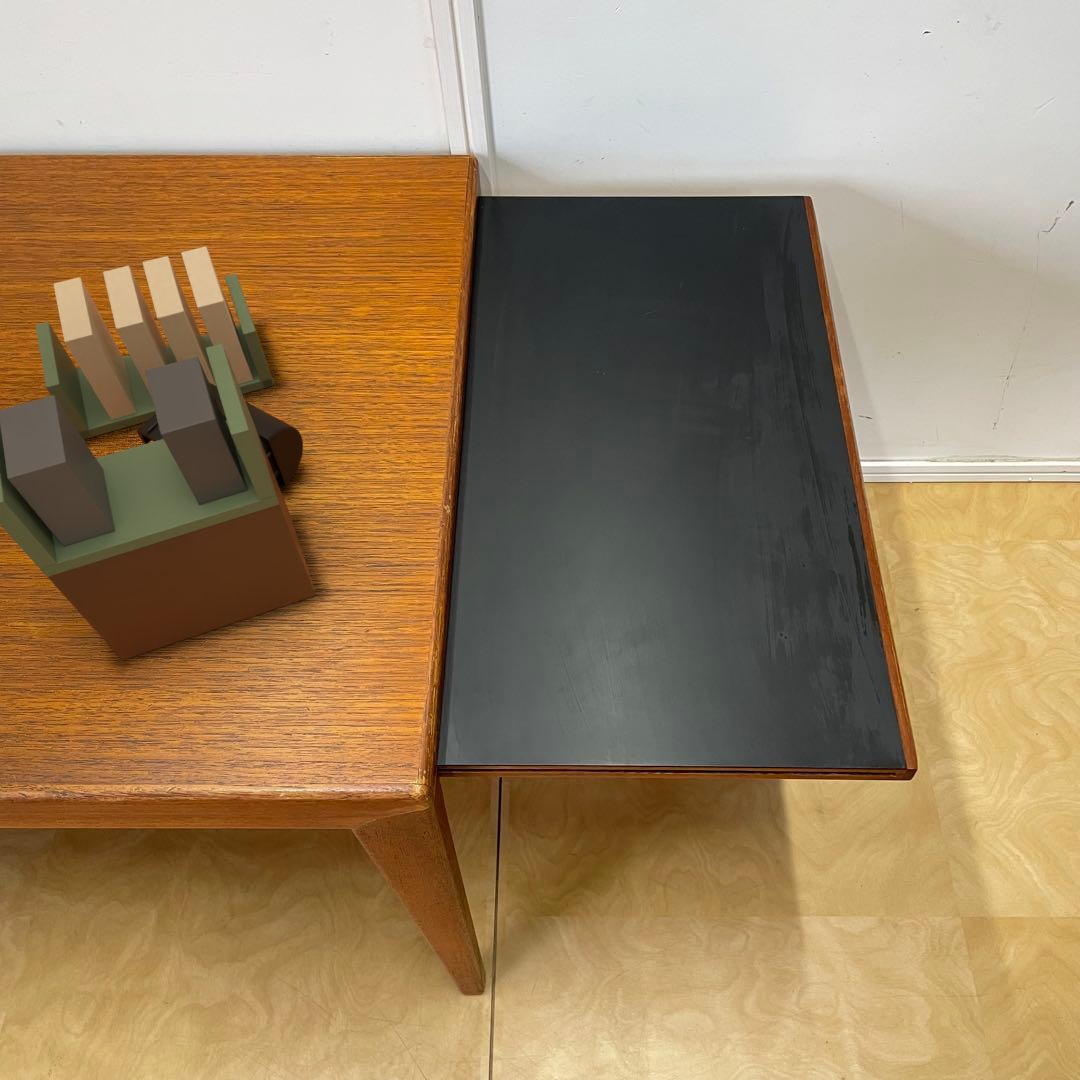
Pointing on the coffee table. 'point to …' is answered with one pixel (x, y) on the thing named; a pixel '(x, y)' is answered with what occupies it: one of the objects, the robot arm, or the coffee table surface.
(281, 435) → the end cap
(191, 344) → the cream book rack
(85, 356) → the cream book
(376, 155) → the coffee table surface
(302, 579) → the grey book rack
